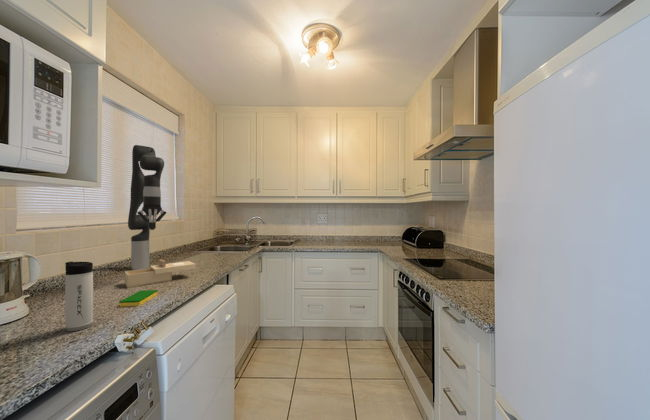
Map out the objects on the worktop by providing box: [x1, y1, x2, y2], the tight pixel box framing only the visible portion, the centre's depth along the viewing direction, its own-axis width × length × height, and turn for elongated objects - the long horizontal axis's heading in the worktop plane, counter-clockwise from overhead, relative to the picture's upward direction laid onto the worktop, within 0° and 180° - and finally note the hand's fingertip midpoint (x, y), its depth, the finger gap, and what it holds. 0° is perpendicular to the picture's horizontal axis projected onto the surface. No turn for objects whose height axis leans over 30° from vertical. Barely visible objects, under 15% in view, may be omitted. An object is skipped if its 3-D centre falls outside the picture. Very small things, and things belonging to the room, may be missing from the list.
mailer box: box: [124, 267, 173, 289], centre depth 133 cm, size 10×18×6 cm, turn 133°
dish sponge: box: [118, 289, 159, 308], centre depth 106 cm, size 7×14×2 cm, turn 7°
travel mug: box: [64, 261, 94, 332], centre depth 82 cm, size 6×7×20 cm
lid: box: [149, 258, 197, 274], centre depth 140 cm, size 12×19×5 cm, turn 133°
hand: (152, 229), depth 136 cm, fingers closed
